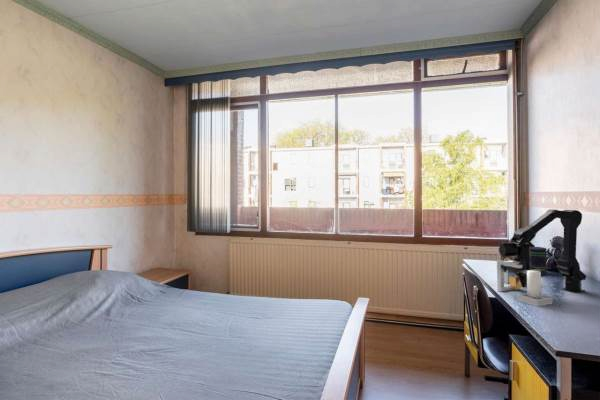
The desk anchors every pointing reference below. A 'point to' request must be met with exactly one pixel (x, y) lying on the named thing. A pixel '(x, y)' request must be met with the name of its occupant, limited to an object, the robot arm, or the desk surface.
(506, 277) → the light bulb box
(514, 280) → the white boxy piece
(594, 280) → the desk surface
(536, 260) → the storage jar
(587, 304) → the desk surface
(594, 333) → the desk surface
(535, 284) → the white cylinder
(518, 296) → the gray square tray
